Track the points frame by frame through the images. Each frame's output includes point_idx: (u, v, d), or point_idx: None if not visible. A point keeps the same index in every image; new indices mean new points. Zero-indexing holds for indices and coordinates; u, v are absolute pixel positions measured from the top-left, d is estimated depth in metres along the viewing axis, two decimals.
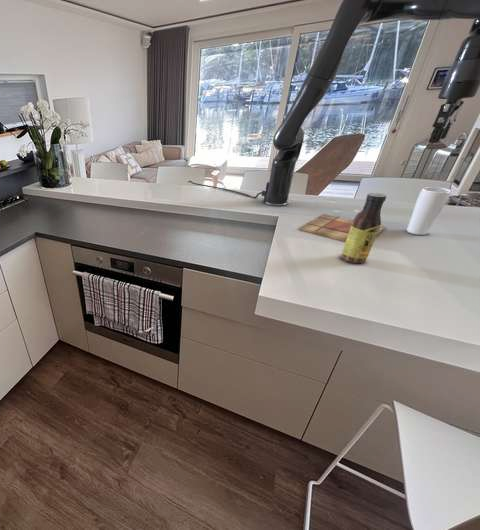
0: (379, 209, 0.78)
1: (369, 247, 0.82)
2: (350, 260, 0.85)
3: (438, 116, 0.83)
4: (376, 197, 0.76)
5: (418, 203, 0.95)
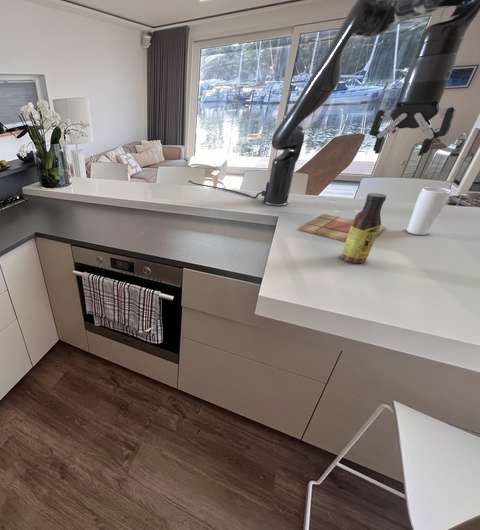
0: (379, 209, 0.78)
1: (369, 247, 0.82)
2: (350, 260, 0.85)
3: None
4: (376, 197, 0.76)
5: (418, 203, 0.95)
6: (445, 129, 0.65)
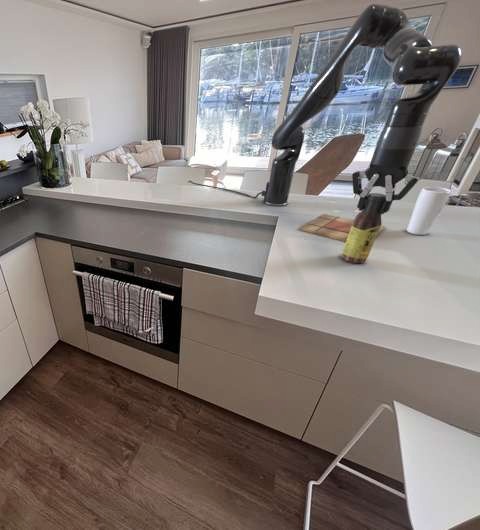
0: (380, 209, 0.78)
1: (369, 247, 0.82)
2: (350, 260, 0.85)
3: None
4: (377, 197, 0.76)
5: (418, 203, 0.95)
6: (402, 195, 0.72)
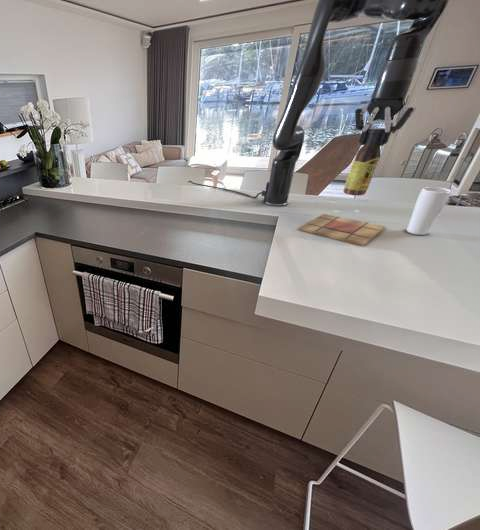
0: (379, 142, 0.86)
1: (369, 179, 0.91)
2: (351, 193, 0.94)
3: None
4: (377, 130, 0.85)
5: (418, 203, 0.95)
6: (399, 125, 0.81)
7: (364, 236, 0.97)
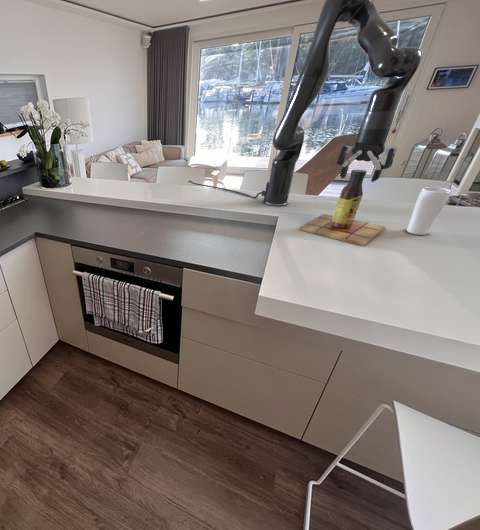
0: (361, 182, 0.96)
1: (353, 214, 1.00)
2: (338, 226, 1.03)
3: None
4: (358, 172, 0.95)
5: (418, 203, 0.95)
6: (388, 164, 0.88)
7: (364, 236, 0.97)
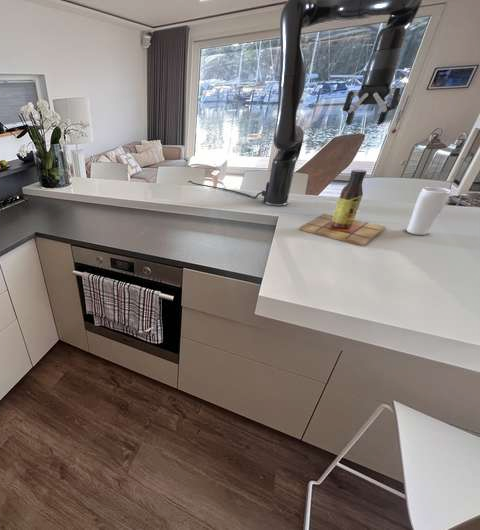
0: (361, 182, 0.96)
1: (353, 214, 1.00)
2: (338, 226, 1.03)
3: None
4: (358, 172, 0.95)
5: (418, 203, 0.95)
6: (394, 104, 0.90)
7: (364, 236, 0.97)
